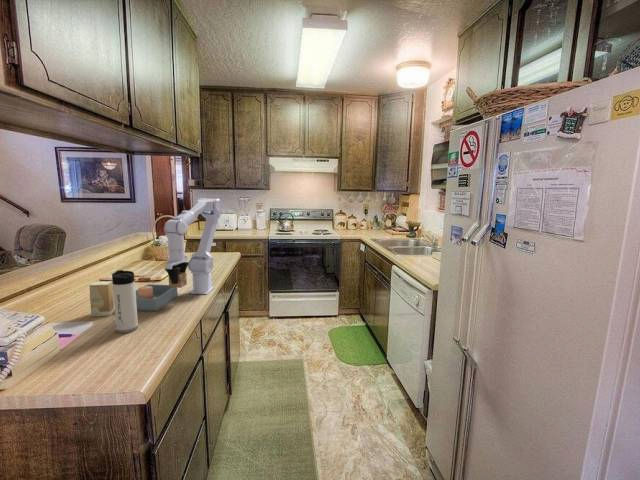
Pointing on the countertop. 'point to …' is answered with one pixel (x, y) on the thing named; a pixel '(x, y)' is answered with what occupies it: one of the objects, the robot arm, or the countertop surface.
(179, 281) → the walnut cube
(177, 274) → the robot arm
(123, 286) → the travel mug
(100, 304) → the skincare box
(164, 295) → the tote
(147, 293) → the terracotta capsule
